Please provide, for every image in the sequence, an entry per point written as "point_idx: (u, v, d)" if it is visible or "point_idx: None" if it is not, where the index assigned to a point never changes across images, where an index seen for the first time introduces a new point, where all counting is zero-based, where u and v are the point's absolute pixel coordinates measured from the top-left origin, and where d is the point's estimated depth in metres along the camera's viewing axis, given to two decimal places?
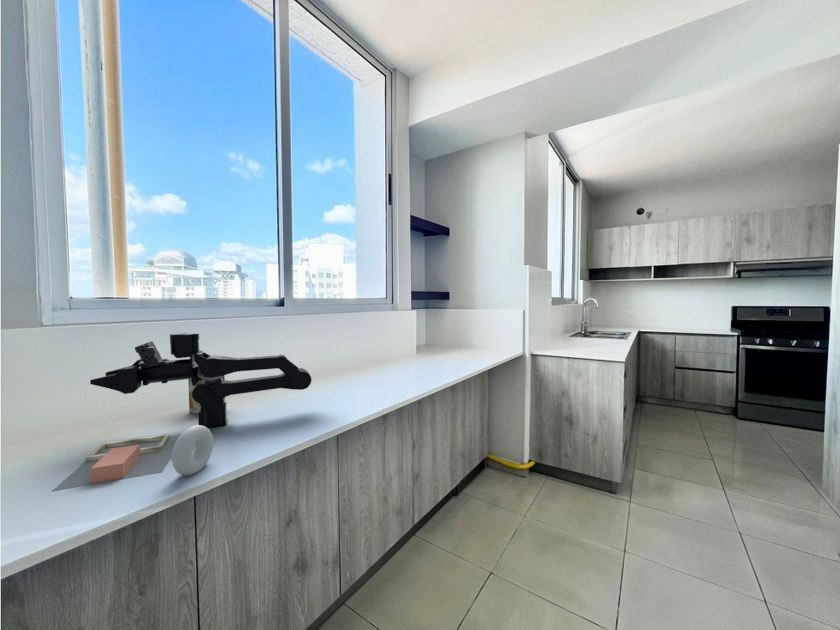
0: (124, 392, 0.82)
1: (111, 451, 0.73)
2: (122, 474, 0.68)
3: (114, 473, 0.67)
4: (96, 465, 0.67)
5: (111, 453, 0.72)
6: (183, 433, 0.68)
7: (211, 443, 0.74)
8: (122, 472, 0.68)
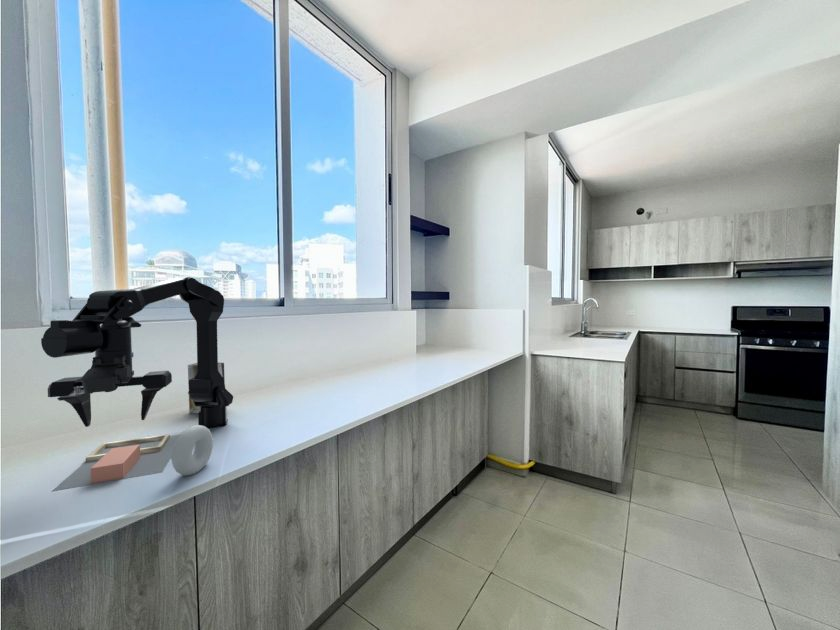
0: None
1: (111, 451, 0.73)
2: (122, 474, 0.68)
3: (114, 473, 0.67)
4: (96, 465, 0.67)
5: (111, 453, 0.72)
6: (183, 433, 0.68)
7: (211, 442, 0.74)
8: (122, 472, 0.68)
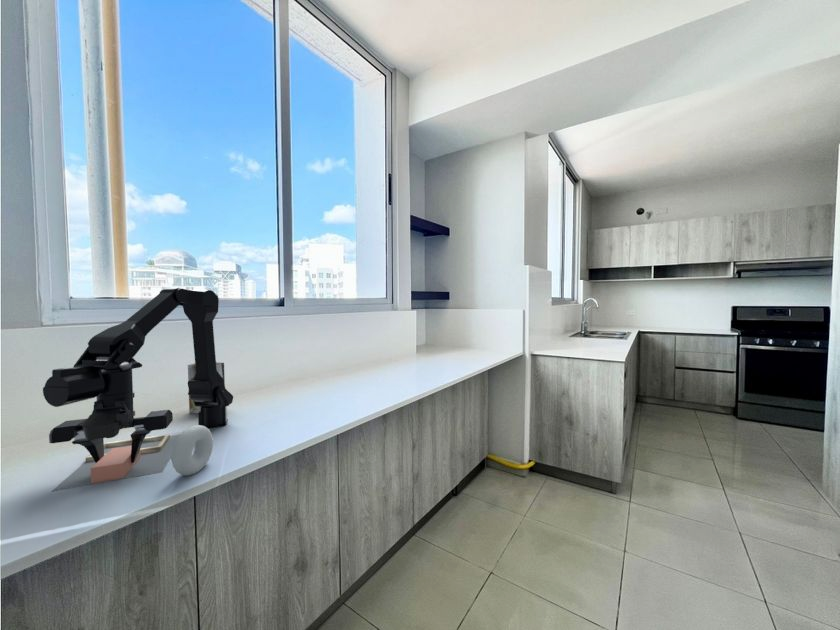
0: None
1: (111, 451, 0.73)
2: (122, 474, 0.68)
3: (114, 473, 0.67)
4: (96, 465, 0.67)
5: (111, 453, 0.72)
6: (183, 433, 0.68)
7: (211, 443, 0.74)
8: (122, 472, 0.68)
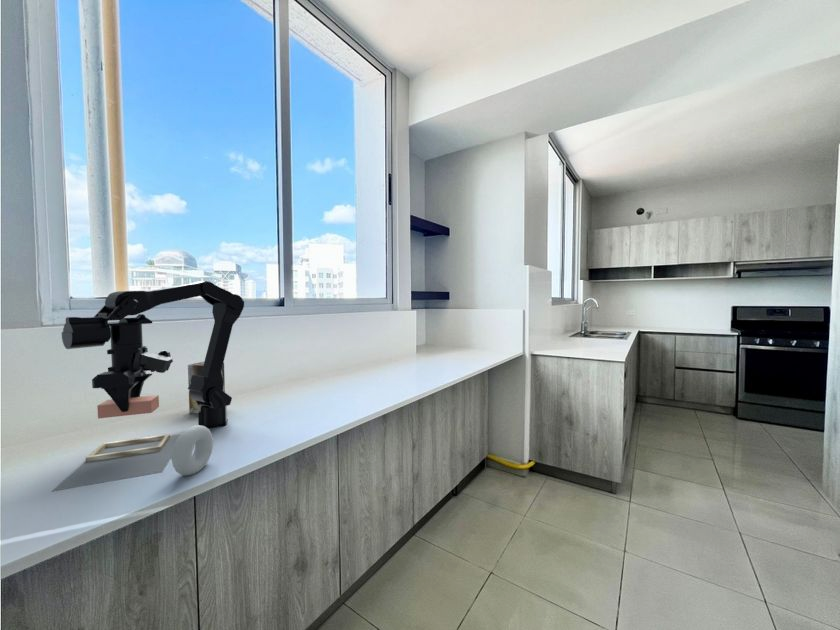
0: None
1: (109, 403, 0.77)
2: (158, 404, 0.84)
3: (157, 403, 0.83)
4: (145, 400, 0.80)
5: None
6: (183, 433, 0.68)
7: (211, 442, 0.74)
8: (158, 402, 0.84)
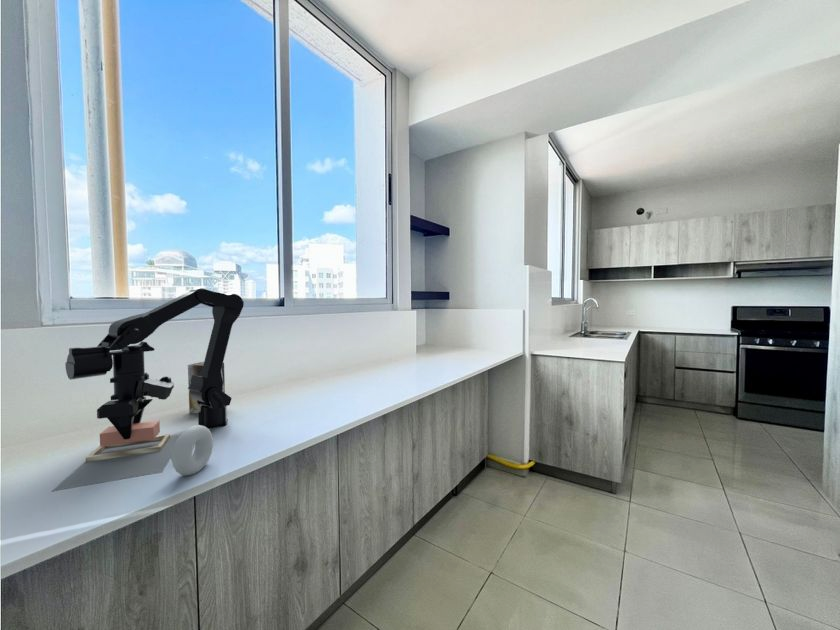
0: None
1: (111, 431, 0.78)
2: (159, 429, 0.86)
3: (158, 428, 0.84)
4: (147, 427, 0.81)
5: None
6: (183, 433, 0.68)
7: (211, 442, 0.74)
8: (159, 427, 0.86)
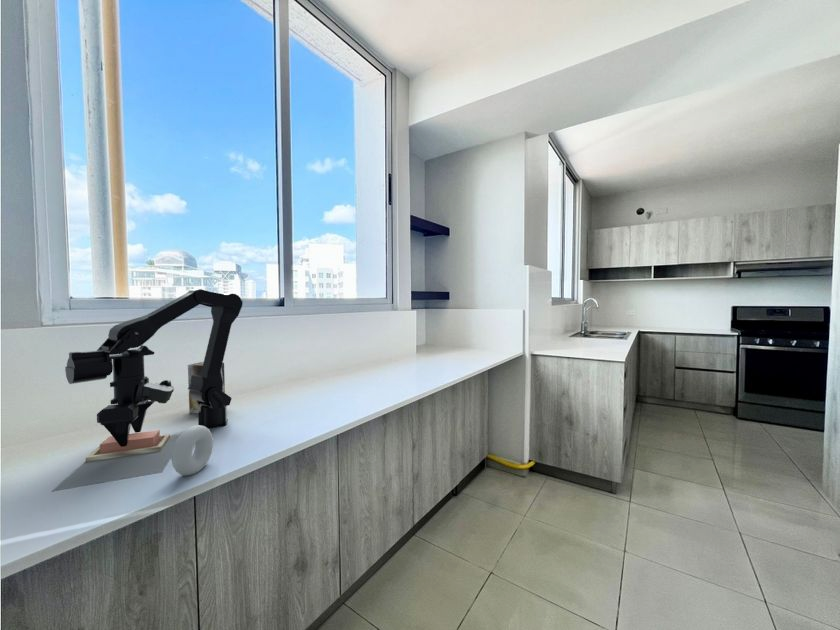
0: None
1: (111, 441, 0.78)
2: (159, 439, 0.86)
3: (158, 438, 0.84)
4: (147, 437, 0.81)
5: None
6: (183, 433, 0.68)
7: (211, 442, 0.74)
8: (159, 437, 0.86)
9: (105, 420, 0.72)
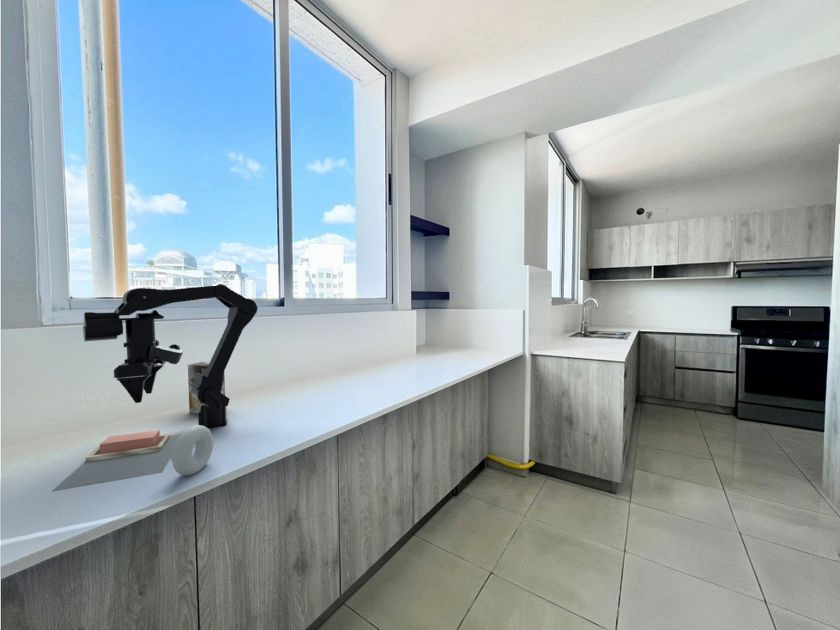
0: None
1: (111, 441, 0.78)
2: (159, 439, 0.86)
3: (158, 438, 0.84)
4: (147, 437, 0.81)
5: (119, 440, 0.79)
6: (183, 433, 0.68)
7: (211, 443, 0.74)
8: (159, 437, 0.86)
9: (122, 375, 0.76)
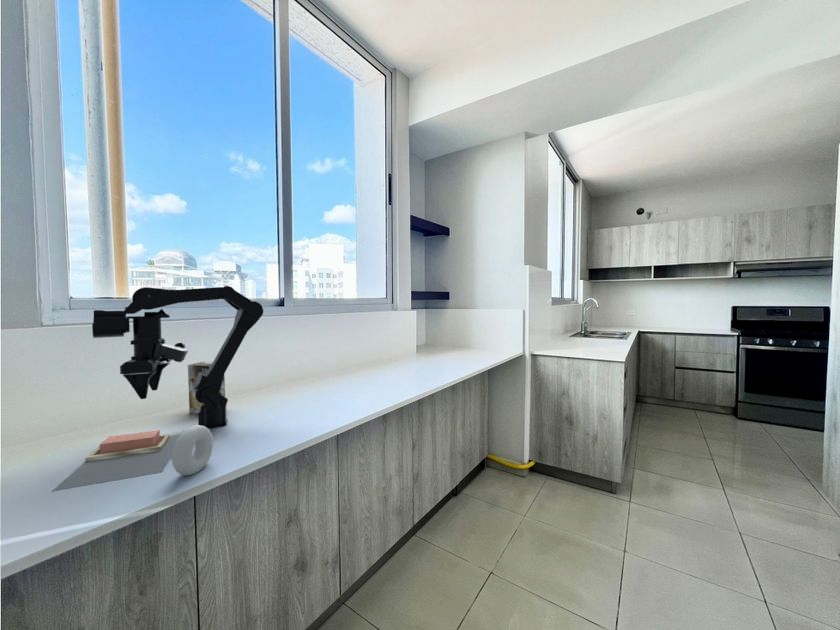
0: None
1: (111, 441, 0.78)
2: (159, 439, 0.86)
3: (158, 438, 0.84)
4: (147, 437, 0.81)
5: (119, 440, 0.79)
6: (183, 433, 0.68)
7: (211, 443, 0.74)
8: (159, 437, 0.86)
9: (127, 372, 0.79)
